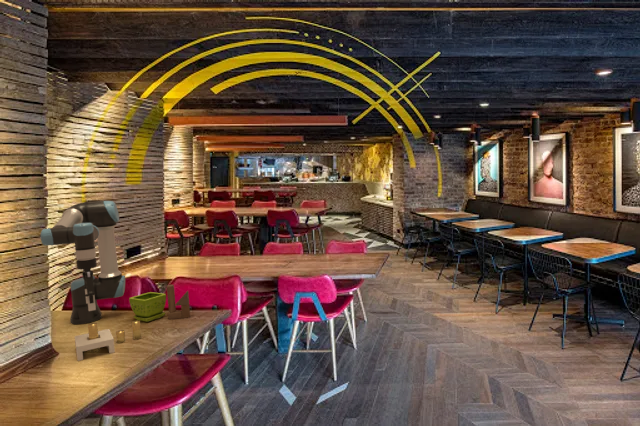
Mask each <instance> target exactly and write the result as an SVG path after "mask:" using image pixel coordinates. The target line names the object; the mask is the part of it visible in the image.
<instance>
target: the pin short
mask: <svg viewBox="0 0 640 426" xmlns="http://www.w3.org/2000/svg"><path fill="white" fill-rule="evenodd" d="M115 337H116V343H117V344H123V342H124V343H125V342H126V334H125V329H120V330H116V331H115Z"/></svg>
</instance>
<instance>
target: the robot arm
mask: <svg viewBox="0 0 640 426" xmlns="http://www.w3.org/2000/svg"><path fill="white" fill-rule="evenodd" d="M119 222H120V216H119V209H118V207H117V204H116V203H115V201H113V200H99V201H85V202H78V203H76V204H74V205H73V204H72V205H71V206H70V207H68V208H66V210H64V211H63V212H62V215H61V218H60V219H59V220H58V221H57V222H56V223H55V224H54V225H53V226H52V227H51V228H43V229H42V230H41V231H40V241H41V244H42V245H43V246H53V247H54V246H61V245H70V244H71V245H73V244H74V247H75V248H74V249H75V252H73V254H74V255H75V259H77V260H76V261H75V262H76V268H77V269H78V270H83V271H82V274H81V275H82V277H80V278H78V279H74V280H73V281H71V283H70V292H71V304H72V310H71V314H70V318H69V321H70V324H71V323H72V324H71V325H84V324H85V325H86V324H91V323H95V322H96V321H99V320H101V319H102V317H103V313H102V311H101V309H100V307H99V305H98V301H97V300H105V299H106V300H107V299H116V298H119V297H120V298H121V297H123V296H124V293H125V290H126V275H123V273H122V271H120V270H119V265H118V255H117V245H116V237H115V236H116V235H115V227H116V226H117V223H119ZM96 240H97V247H98V257H99V266H100V272H99V274H98V276H97V277H95V276H94V271H93V270H91V269H94V268H96V267H97V265H98V264H97V258H96V256H97V252H96V245H95V241H96Z"/></svg>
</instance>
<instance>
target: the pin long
mask: <svg viewBox="0 0 640 426" xmlns="http://www.w3.org/2000/svg"><path fill="white" fill-rule="evenodd" d="M98 327H99V326H98V323H97V322H90V323H87V331H88V333H89V340H92V339H97V338H98V331H99V330H98V329H99V328H98ZM100 348H101V347H100ZM100 348H95V349H91V350H89V351H90V353H96V352H99V351H100Z"/></svg>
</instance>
